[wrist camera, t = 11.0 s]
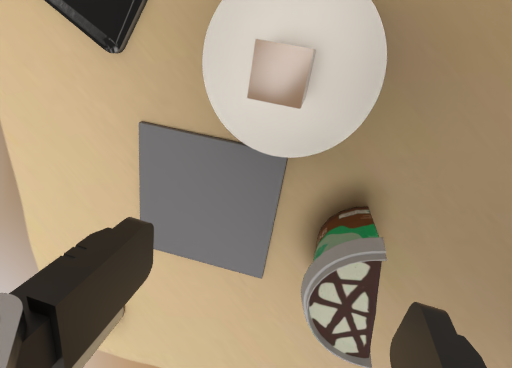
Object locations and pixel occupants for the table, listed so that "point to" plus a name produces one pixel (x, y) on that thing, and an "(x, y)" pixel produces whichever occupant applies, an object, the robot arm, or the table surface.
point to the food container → (345, 285)
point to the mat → (208, 197)
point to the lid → (294, 71)
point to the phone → (103, 19)
